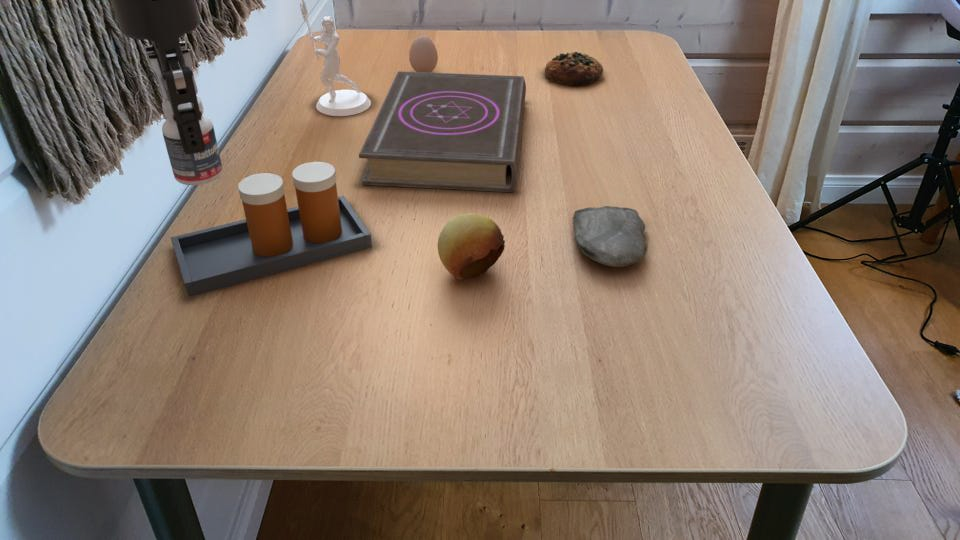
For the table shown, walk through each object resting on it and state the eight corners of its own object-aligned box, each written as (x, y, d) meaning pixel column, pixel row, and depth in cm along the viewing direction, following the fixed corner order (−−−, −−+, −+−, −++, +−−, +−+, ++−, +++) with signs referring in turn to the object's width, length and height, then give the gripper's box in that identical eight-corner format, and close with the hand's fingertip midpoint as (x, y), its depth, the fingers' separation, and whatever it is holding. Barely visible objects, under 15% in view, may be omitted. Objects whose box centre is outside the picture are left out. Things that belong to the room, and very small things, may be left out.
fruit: (513, 263, 91) (515, 208, 86) (483, 302, 85) (484, 245, 80) (458, 248, 94) (457, 194, 89) (426, 284, 88) (423, 228, 83)
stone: (571, 218, 100) (573, 197, 98) (641, 220, 99) (644, 199, 97) (574, 276, 89) (576, 254, 87) (652, 279, 88) (656, 257, 86)
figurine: (308, 98, 130) (293, -6, 119) (359, 88, 134) (349, -14, 123) (325, 120, 123) (310, 11, 112) (378, 109, 127) (369, 3, 116)
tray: (188, 297, 85) (184, 283, 84) (174, 250, 93) (170, 237, 92) (372, 247, 94) (370, 234, 93) (345, 207, 101) (343, 195, 100)
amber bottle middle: (257, 261, 90) (243, 198, 85) (247, 240, 94) (233, 178, 89) (298, 250, 92) (287, 188, 87) (287, 230, 96) (276, 169, 90)
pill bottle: (205, 190, 81) (186, 115, 75) (165, 182, 82) (143, 108, 77) (232, 168, 85) (216, 95, 79) (194, 160, 86) (176, 89, 81)
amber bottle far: (308, 248, 93) (298, 186, 87) (297, 227, 96) (286, 167, 91) (348, 237, 95) (340, 176, 89) (335, 218, 98) (327, 157, 93)
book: (399, 98, 130) (397, 71, 127) (525, 103, 129) (526, 76, 126) (361, 185, 106) (358, 154, 103) (516, 192, 105) (517, 161, 102)
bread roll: (565, 90, 133) (566, 62, 130) (532, 77, 141) (532, 50, 139) (614, 81, 137) (616, 53, 135) (580, 69, 146) (581, 43, 144)
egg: (429, 81, 136) (428, 42, 132) (404, 76, 138) (402, 38, 134) (443, 71, 140) (442, 33, 136) (418, 67, 142) (417, 29, 138)
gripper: (100, -33, 74) (145, 121, 85) (114, 6, 64) (164, 176, 74) (177, -42, 77) (212, 109, 87) (203, -5, 67) (239, 161, 77)
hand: (190, 139), depth 81 cm, fingers closed on pill bottle, 5 cm apart
